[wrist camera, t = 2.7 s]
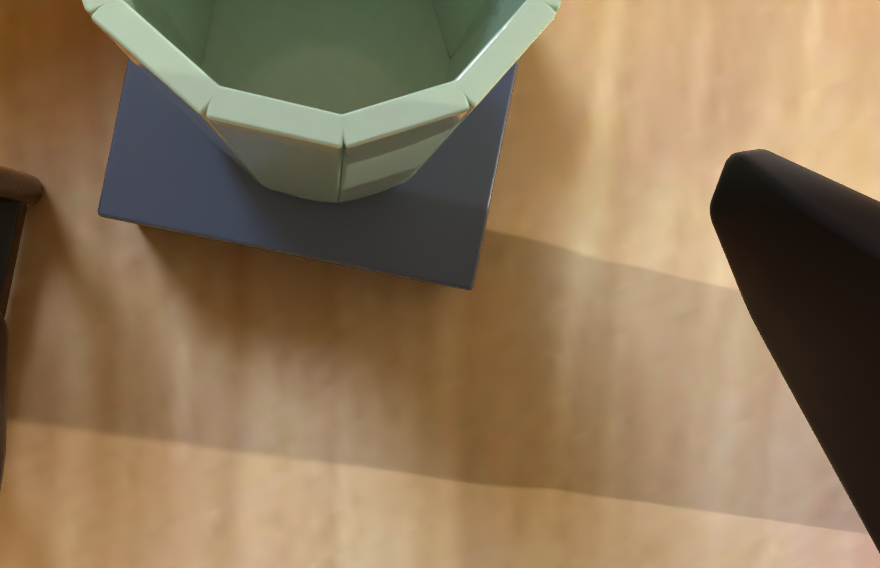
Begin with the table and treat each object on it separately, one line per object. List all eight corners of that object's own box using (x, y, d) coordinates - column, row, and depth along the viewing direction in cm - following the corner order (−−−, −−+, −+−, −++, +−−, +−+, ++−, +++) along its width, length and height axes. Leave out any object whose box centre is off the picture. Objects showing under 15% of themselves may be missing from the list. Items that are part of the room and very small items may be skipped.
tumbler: (431, 226, 16) (524, 190, 8) (167, 170, 15) (-8, 69, 7) (480, -24, 16) (622, -298, 8) (221, -95, 15) (103, -480, 7)
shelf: (451, 287, 19) (492, 294, 14) (134, 223, 18) (59, 208, 13) (511, -13, 19) (572, -108, 14) (199, -99, 18) (148, -236, 13)
